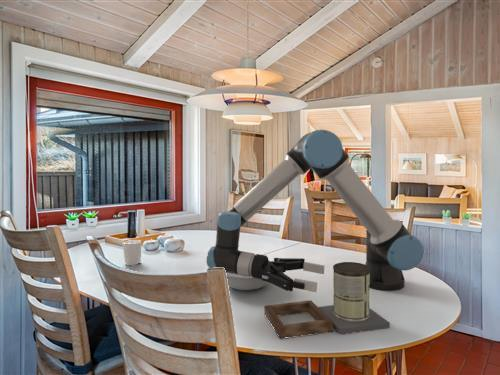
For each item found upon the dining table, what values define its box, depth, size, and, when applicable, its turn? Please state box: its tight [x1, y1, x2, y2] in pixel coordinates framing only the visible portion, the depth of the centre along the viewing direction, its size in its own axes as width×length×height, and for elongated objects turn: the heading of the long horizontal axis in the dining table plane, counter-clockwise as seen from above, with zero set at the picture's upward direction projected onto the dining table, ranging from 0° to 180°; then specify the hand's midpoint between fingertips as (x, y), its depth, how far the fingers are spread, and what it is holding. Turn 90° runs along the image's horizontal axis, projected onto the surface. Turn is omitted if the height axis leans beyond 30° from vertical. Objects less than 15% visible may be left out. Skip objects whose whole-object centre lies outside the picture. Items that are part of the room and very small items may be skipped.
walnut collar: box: [263, 300, 334, 339], centre depth 106 cm, size 15×15×3 cm
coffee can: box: [332, 261, 371, 322], centre depth 107 cm, size 10×10×14 cm
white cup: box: [122, 239, 142, 266], centre depth 167 cm, size 8×8×10 cm
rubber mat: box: [318, 304, 390, 335], centre depth 107 cm, size 15×15×2 cm
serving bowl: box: [226, 272, 270, 291], centre depth 136 cm, size 21×21×7 cm
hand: (320, 278), depth 111 cm, fingers open, 13 cm apart
